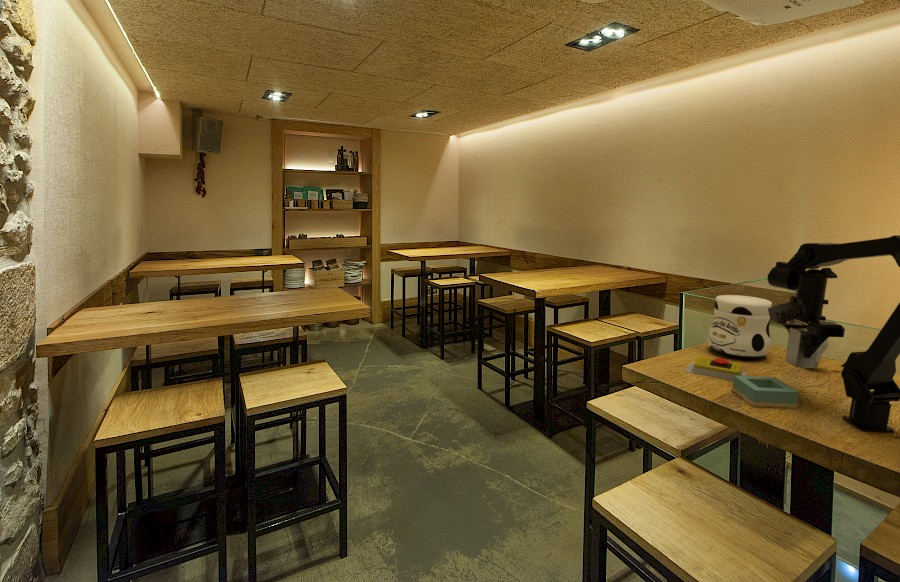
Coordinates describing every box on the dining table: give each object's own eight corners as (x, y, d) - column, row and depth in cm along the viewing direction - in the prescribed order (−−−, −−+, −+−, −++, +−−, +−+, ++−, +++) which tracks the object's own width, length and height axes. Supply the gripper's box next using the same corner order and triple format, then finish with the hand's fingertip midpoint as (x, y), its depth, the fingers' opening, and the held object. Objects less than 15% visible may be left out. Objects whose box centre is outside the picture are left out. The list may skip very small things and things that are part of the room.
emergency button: (746, 369, 129) (685, 359, 137) (744, 385, 130) (683, 373, 138) (748, 360, 137) (690, 350, 145) (746, 375, 137) (689, 364, 146)
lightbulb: (828, 373, 138) (835, 336, 136) (805, 371, 140) (810, 335, 138) (817, 366, 144) (823, 330, 142) (794, 364, 146) (800, 329, 143)
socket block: (796, 408, 114) (799, 392, 114) (752, 406, 115) (754, 390, 114) (772, 391, 124) (774, 377, 123) (732, 390, 125) (734, 375, 124)
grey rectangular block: (814, 367, 119) (820, 332, 117) (795, 367, 119) (801, 332, 118) (803, 361, 123) (808, 328, 122) (785, 361, 124) (790, 327, 122)
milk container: (701, 354, 154) (708, 300, 151) (711, 342, 168) (717, 292, 164) (765, 366, 144) (773, 307, 140) (770, 352, 157) (778, 298, 154)
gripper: (755, 286, 128) (748, 342, 131) (799, 300, 109) (789, 366, 112) (799, 287, 127) (791, 344, 130) (851, 302, 109) (840, 367, 112)
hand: (801, 354), depth 121 cm, fingers closed on grey rectangular block, 4 cm apart
